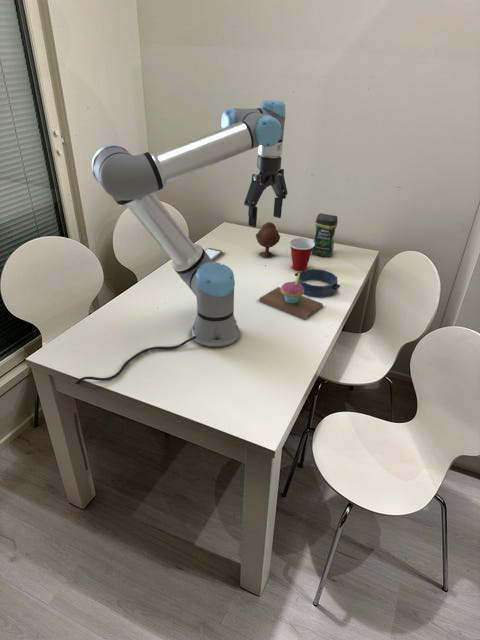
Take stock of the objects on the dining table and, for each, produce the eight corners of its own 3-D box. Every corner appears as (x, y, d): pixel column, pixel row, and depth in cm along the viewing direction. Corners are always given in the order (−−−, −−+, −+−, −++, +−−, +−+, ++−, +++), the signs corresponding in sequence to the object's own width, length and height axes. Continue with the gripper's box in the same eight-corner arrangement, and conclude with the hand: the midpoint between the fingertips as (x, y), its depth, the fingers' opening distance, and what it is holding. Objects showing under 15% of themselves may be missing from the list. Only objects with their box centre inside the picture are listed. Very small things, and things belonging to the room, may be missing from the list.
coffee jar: (309, 254, 210) (314, 215, 200) (314, 249, 216) (319, 210, 206) (330, 258, 207) (336, 219, 197) (334, 252, 213) (340, 213, 203)
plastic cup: (285, 272, 193) (287, 245, 187) (288, 262, 202) (291, 236, 196) (310, 275, 191) (313, 248, 185) (313, 265, 200) (316, 239, 194)
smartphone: (192, 259, 199) (208, 247, 211) (192, 261, 200) (208, 249, 211) (207, 262, 196) (222, 250, 208) (207, 264, 197) (222, 252, 209)
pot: (326, 302, 171) (328, 291, 169) (285, 287, 181) (286, 277, 179) (346, 288, 182) (348, 278, 179) (306, 274, 191) (307, 264, 189)
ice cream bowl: (250, 252, 210) (252, 221, 202) (271, 249, 214) (274, 218, 206) (261, 261, 202) (263, 229, 194) (283, 257, 206) (285, 225, 198)
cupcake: (302, 296, 172) (306, 266, 166) (303, 307, 165) (306, 277, 158) (280, 294, 172) (282, 265, 166) (279, 305, 165) (281, 275, 159)
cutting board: (305, 319, 160) (305, 316, 159) (259, 301, 171) (259, 297, 170) (322, 307, 168) (323, 303, 167) (278, 290, 179) (278, 286, 178)
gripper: (253, 163, 132) (250, 233, 143) (302, 152, 148) (295, 216, 159) (234, 158, 136) (232, 227, 147) (283, 148, 152) (278, 211, 163)
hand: (265, 221), depth 153 cm, fingers open, 13 cm apart
